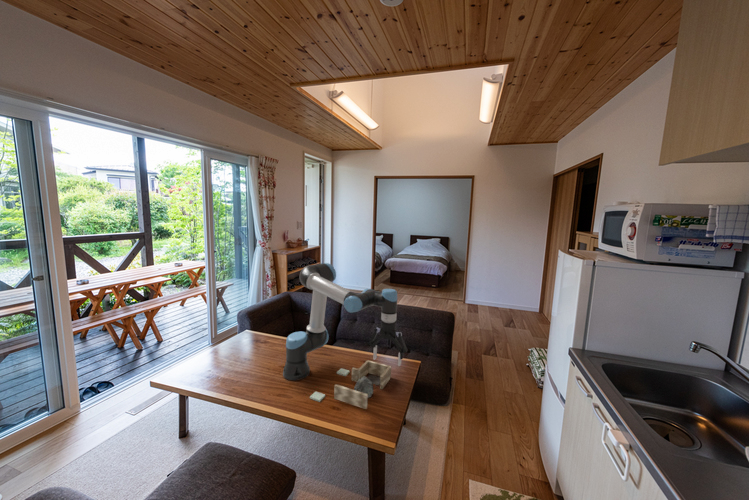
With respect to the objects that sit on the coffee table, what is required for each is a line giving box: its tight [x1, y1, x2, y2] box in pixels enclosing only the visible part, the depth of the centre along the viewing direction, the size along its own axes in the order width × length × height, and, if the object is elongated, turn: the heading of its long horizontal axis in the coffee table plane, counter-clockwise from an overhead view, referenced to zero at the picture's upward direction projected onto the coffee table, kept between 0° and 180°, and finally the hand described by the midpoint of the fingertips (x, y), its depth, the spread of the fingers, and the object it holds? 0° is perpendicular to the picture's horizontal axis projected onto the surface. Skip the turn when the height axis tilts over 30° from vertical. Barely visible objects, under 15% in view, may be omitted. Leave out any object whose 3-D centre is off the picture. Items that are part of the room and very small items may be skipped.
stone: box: [353, 376, 374, 399], centre depth 149 cm, size 10×10×10 cm
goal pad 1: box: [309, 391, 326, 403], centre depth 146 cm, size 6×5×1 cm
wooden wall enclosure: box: [333, 360, 392, 410], centre depth 156 cm, size 19×32×7 cm, turn 156°
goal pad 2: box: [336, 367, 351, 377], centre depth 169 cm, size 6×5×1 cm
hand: (387, 361), depth 143 cm, fingers open, 12 cm apart
